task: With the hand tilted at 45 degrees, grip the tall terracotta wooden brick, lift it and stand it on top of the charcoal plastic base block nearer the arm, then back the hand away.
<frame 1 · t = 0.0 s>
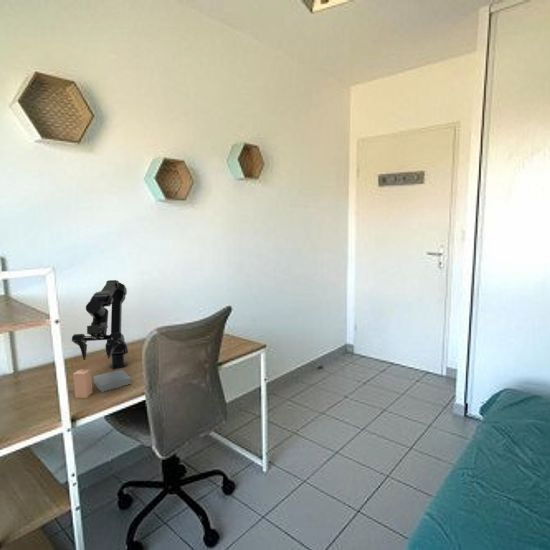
hand: (96, 359, 154), 15 cm above the table, tool tilted 35°, fingers open, 9 cm apart
brick: (84, 395, 156), on the table
base block: (112, 383, 166), on the table
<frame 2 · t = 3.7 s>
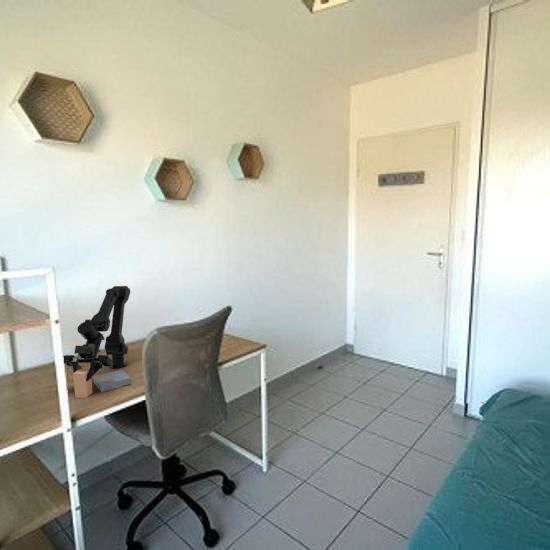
hand: (80, 380, 153), 7 cm above the table, tool tilted 45°, fingers closed on brick, 5 cm apart
brick: (84, 395, 156), on the table, touching gripper
everything else where it was.
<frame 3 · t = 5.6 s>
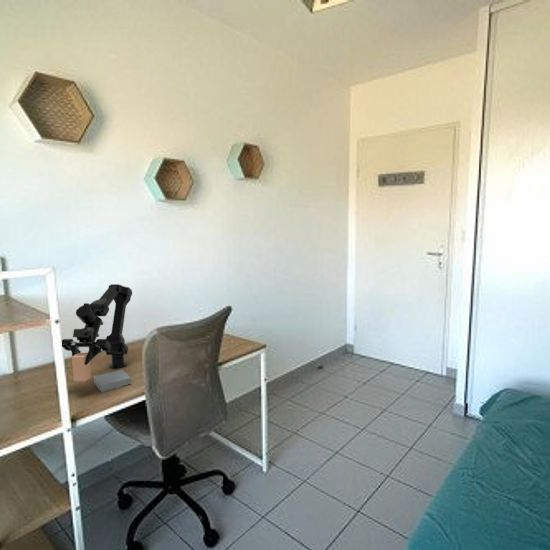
hand: (79, 364, 152), 13 cm above the table, tool tilted 45°, fingers closed on brick, 5 cm apart
brick: (82, 378, 155), point 7 cm above the table, touching gripper
everything else where it was.
when the fingers open (11 cm above the table, at t = 7.8 s): brick drops 1 cm, resting on base block.
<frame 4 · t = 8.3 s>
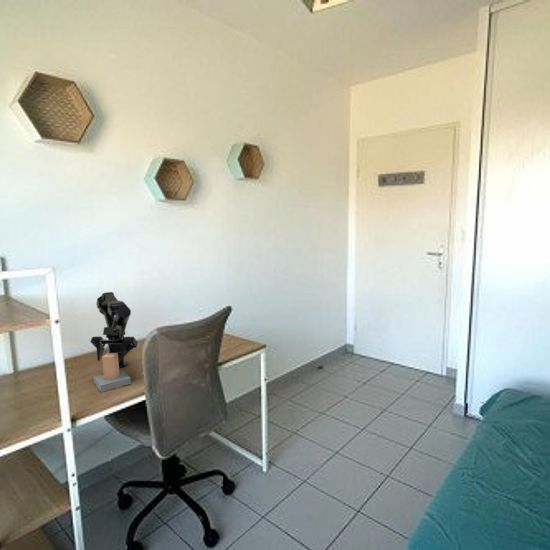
hand: (109, 360, 163), 11 cm above the table, tool tilted 45°, fingers open, 9 cm apart
brick: (111, 377, 166), point 3 cm above the table, touching base block
everything else where it was.
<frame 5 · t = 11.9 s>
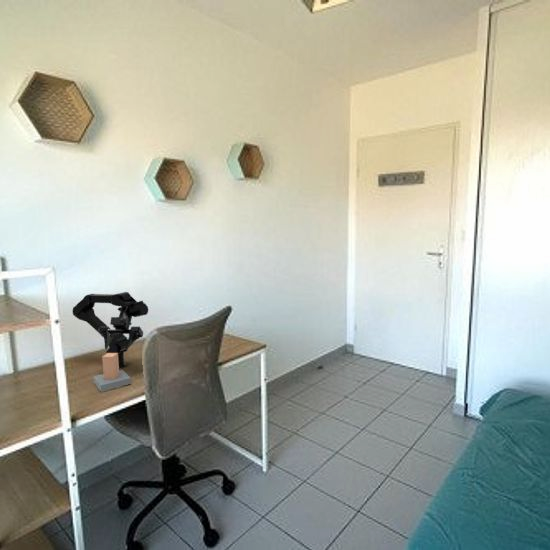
hand: (116, 349, 170), 14 cm above the table, tool tilted 45°, fingers open, 9 cm apart
nothing on the table moved.
at the end: brick inside the target area on the base block (0.1 cm from its centre), point 3.0 cm above the base block's base; brick tilted 0°; the gripper is holding nothing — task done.
